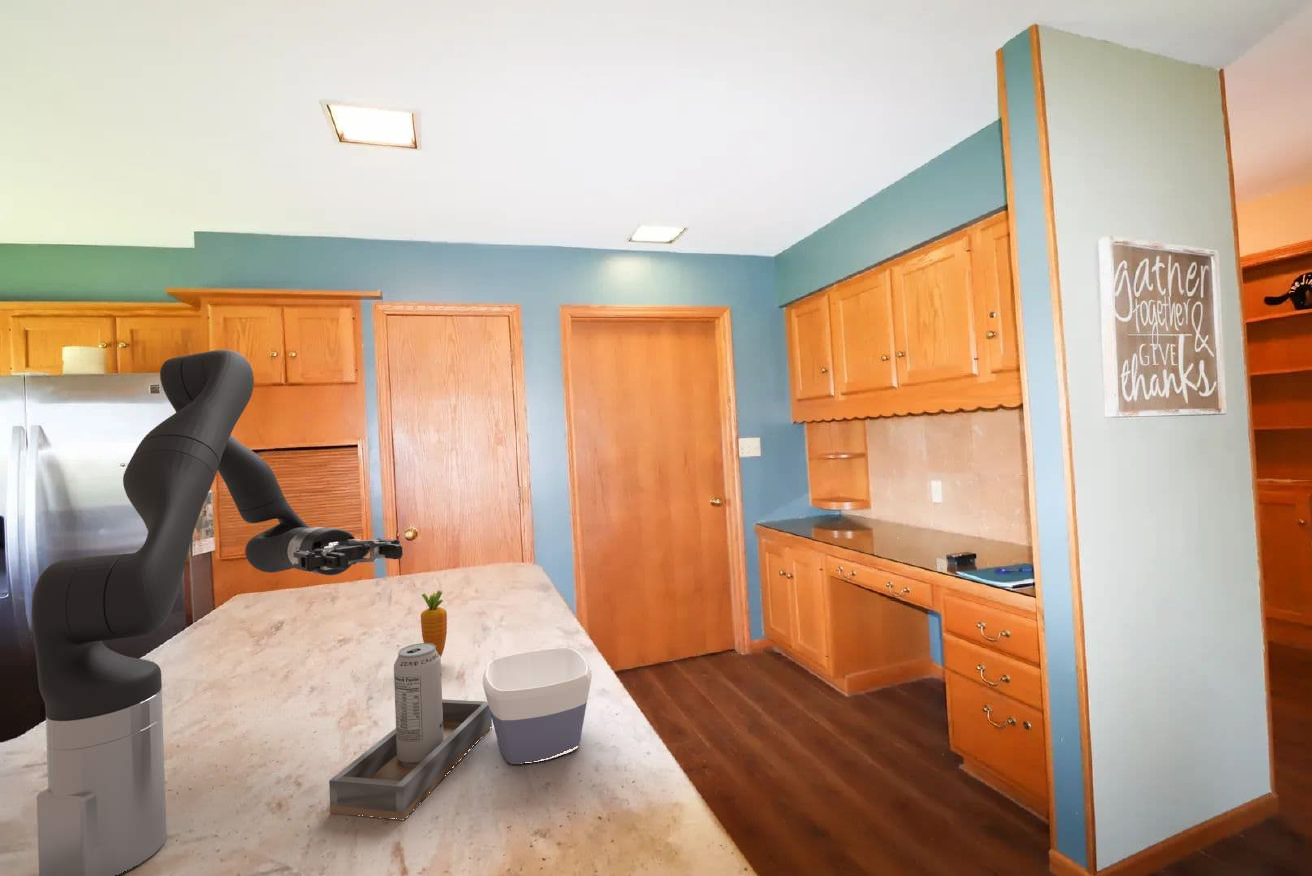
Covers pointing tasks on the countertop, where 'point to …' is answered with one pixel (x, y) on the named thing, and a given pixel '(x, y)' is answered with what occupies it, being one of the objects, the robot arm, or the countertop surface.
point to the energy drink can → (418, 702)
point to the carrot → (434, 622)
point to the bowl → (537, 702)
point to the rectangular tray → (398, 789)
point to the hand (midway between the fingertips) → (372, 556)
